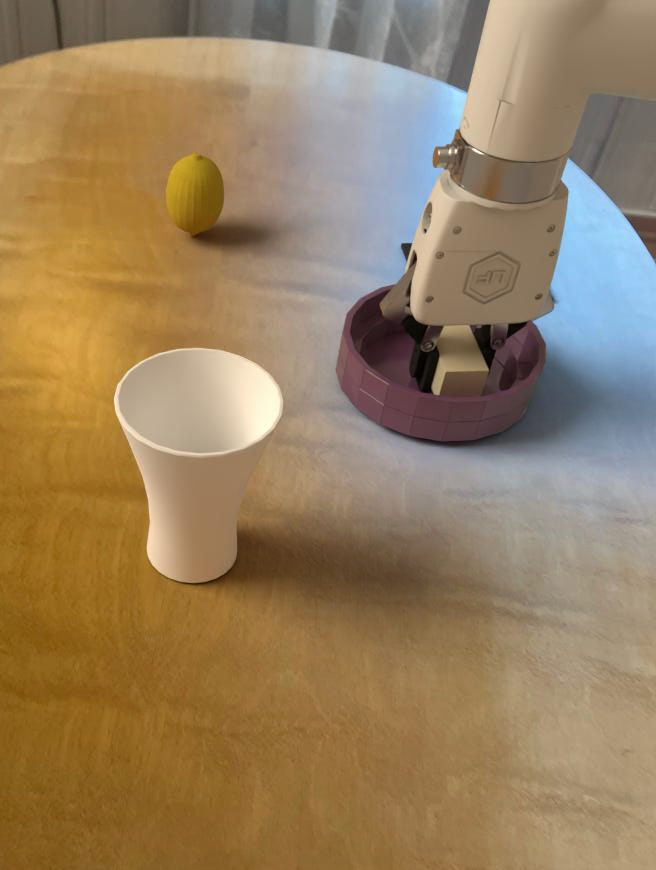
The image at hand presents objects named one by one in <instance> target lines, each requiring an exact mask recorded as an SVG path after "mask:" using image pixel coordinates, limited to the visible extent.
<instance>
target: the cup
mask: <svg viewBox="0 0 656 870" xmlns="http://www.w3.org/2000/svg"><path fill="white" fill-rule="evenodd" d="M281 389H282V388H281V387H280V385H279V384H278V383H277V382H276V380H275V379H274V378H273V376H272V375H271V373H269V372H268V371H266V369H264V368H263V367H262V366H260V365H259V364H257V363H256V362H254V361H252V360H250V359H248V358H246V357H243V356H241V355H239V354H236V353H232V352H228V351H225V350H223V349H222V350H221V349H216V348H206V347H205V348H204V347H203V348H202V347H190V348H189V347H188V348H187V347H186V348H176V349H171V350H168V351H167V350H166V351H163V352H158V353H156V354H154V355H151V356H149V357H147V358H145V359H143V360H140V361H139V362H138V363H137V364H135V365H134V366H132V367H131V368H130V369H129V370H127V372H126V373H125V374H124V375H123V377H122V378H121V379H120V381H119V382H118V383H117V385H116V389H115V393H114V396H113V403H114V409H115V415H116V417H117V419H118V421H119V424H120V426H121V428H122V430H123V433H124V434H125V437H126V440H127V441H128V445H129V447H130V450H131V451H132V454H133V456H134V459H135V461H136V464H137V467H138V469H139V471H140V474H141V476H142V480H143V484H144V488H145V492H146V498H147V503H148V504H147V505H148V514H149V527H148V536H147V543H146V555H147V558H148V560H149V562H150V564H151V565H152V567H154V569H156V571H158V572H159V574H161V575H163V576H165V577H166V578H168V579H170V580H174V581H176V582H179V583H187V584H188V583H189V584H198V583H206V582H209V581H213V580H216V579H218V578H219V577H221V576H223V575H225V574H226V573H228V571H229V570H231V568H232V567H233V566H234V563H235V562H236V560H237V556H238V532H237V531H238V530H237V525H238V519H239V515H240V513H239V512H240V509H241V505H242V501H243V498H244V495H245V492H246V491H247V487H248V484H249V481H250V479H251V477H252V475H253V473H254V471H255V469H256V467H257V465H258V464H259V461H260V460H261V458H262V455H263V454H264V452H265V449H266V448H267V446H268V444H269V443H270V440H271V439H272V437H273V435H274V434H275V431H276V430H277V428H278V426H279V425H280V423H281V421H282V419H283V417H284V409H285V399H284V397H283V393H282V390H281Z"/></svg>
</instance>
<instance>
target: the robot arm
mask: <svg viewBox="0 0 656 870" xmlns="http://www.w3.org/2000/svg"><path fill="white" fill-rule="evenodd" d="M474 61H475V62H474V65H473V69H472V74H471V77H470V82H469V86H468V90H467V95H466V99H465V102H464V106H463V111H462V115H461V119H460V124H459V128H456V129H455V132H454V135H453V136H454V137H453V139H452V141H451V143H446V144H445V146H444V145H443V146H435V147H434V149H433V152H432V166H433V168H434V169H442V170H441V172H440V173H439V174H438V177H437V179H436V181H435V183H434V185H433V187H432V190H431V191H430V194H429V197H428V198H427V201H426V203H425V206H424V208H423V211H422V214H421V216H420V219H419V222H418V224H417V228H416V230H415V234H414V237H413V241H412V242H411V243H412V246H411V250H410V253H409V257H408V261H406V264H405V268H404V273H403V275H402V276H401V277H400V278H399V280H398V281H397V282H396V283H395V284H396V285H395V286H394V287H393V288H392V289H391V290H390V291H389V293H388V294H387V295H386V296H385V297H384V298H383V300H382V301H381V302H380V305H379V306H380V309H381V311H382V314H383V317H384V318H386V319H388V320H389V321H391V322H393V323H395V324H396V325H398V326H399V325H400V326H401V327H403V328H404V329H405V331H406V332H407V333H408V334H409V335H410V336H411V337H412V338H413V339H414V340H415V344H414V348H413V352H412V356H411V360H410V364H409V372H410V375H411V378H415V379H416V382H417V385H418V388H419V390H420V392H423V393H427V392H428V391H430V388H431V384H432V381H433V377H434V373H435V370H436V366H437V362H438V359H439V350H438V348H437V341H438V339H439V337H440V334H441V332H442V330H443V328H444V326H453V325H481V328H475V331H474V332H472V333H473V335H474V338H475V340H476V342H477V344H478V347H479V349H480V351H481V354H482V355H483V358H484V360H485V362H486V365H487V367H488V369H489V371H490V368H491V365H492V362H493V359H494V356H495V353H496V350H499V349H501V348H502V347H504V345H505V343H506V339H508V338H509V337H510V336H512V335H513V334H515V333H516V332H518V331H519V330H520V329H522V328H523V327H524V326H526V324H527V322H529V321H530V322H534V321H536V320H538V319H540V318H543V317H545V316H547V315H548V314H551V313H552V312H553V311H554V309H555V304H554V299H553V300H552V298H553V296H552V293H551V291H550V289H551V286H552V283H553V279H554V275H555V273H556V272H555V271H556V267H557V263H558V259H559V255H560V251H561V246H562V241H563V235H564V230H565V224H566V219H567V211H568V205H569V204H568V203H569V193H570V191H569V188H568V186H567V185H566V184H565V182H563V180H562V179H563V178H562V177H563V176H564V175H563V174H564V172H565V169H566V166H567V162H568V160H569V157H570V154H571V150H572V148H573V144H574V141H575V138H576V135H577V133H578V130H579V126H580V123H581V121H582V117H583V115H584V111H585V108H586V106H587V103H588V99H589V97H590V96H592V95H595V94H600V95H608V96H609V95H610V96H616V97H623V98H629V99H636V100H642V101H643V100H644V101H652V102H653V101H655V102H656V0H489V2H488V7H487V12H486V15H485V19H484V24H483V28H482V31H481V36H480V40H479V45H478V49H477V53H476V56H475V60H474ZM551 296H552V297H551ZM409 301H410V307H407V306H406V305H407V304H408V303H409ZM488 374H489V372H488Z"/></svg>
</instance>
